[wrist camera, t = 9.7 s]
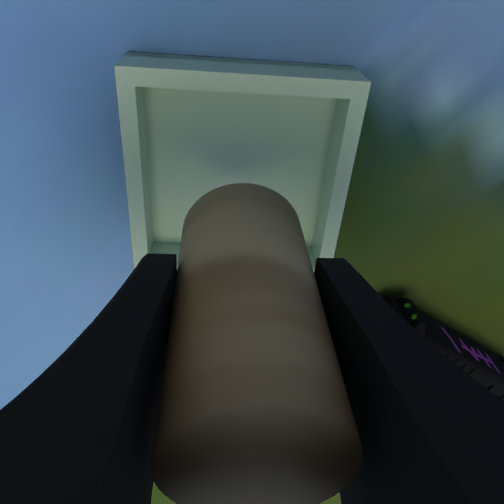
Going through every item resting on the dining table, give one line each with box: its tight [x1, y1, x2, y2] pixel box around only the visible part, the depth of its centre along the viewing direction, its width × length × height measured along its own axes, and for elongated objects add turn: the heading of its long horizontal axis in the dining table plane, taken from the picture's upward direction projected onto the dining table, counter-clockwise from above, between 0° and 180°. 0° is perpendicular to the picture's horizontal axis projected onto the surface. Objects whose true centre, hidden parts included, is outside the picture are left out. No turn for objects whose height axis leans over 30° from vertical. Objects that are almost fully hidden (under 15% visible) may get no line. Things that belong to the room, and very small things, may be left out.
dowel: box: [151, 183, 363, 504], centre depth 9 cm, size 3×3×6 cm
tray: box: [114, 51, 371, 272], centre depth 15 cm, size 7×7×2 cm
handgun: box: [382, 295, 504, 401], centre depth 24 cm, size 19×3×12 cm
